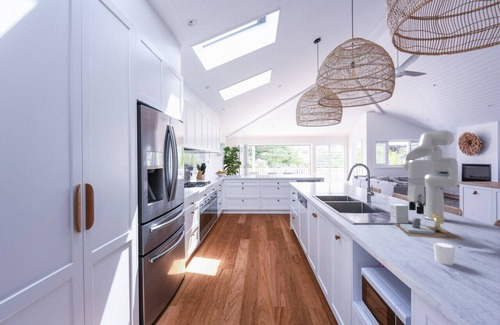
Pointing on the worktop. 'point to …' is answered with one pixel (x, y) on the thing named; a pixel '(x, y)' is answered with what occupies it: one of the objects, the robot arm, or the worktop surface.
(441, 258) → the shot glass
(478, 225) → the worktop surface
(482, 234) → the worktop surface
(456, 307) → the worktop surface
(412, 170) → the robot arm
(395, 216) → the supplement box
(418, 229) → the lid
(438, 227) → the key
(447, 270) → the worktop surface
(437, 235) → the board
